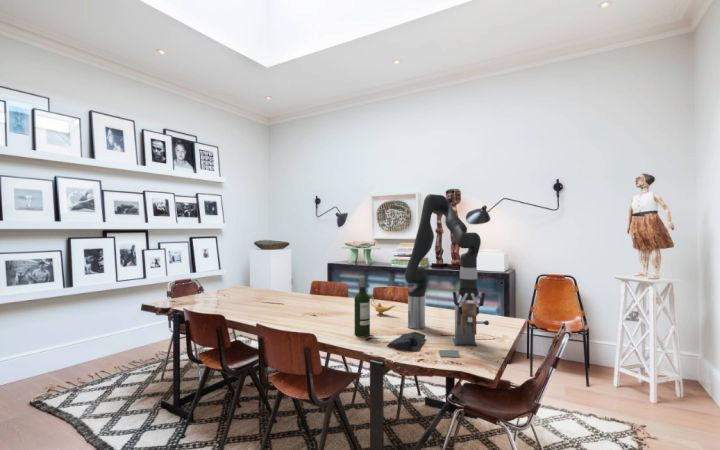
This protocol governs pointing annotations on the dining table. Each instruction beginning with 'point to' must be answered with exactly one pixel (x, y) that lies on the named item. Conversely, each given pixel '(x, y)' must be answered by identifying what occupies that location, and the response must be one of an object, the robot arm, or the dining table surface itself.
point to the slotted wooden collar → (468, 310)
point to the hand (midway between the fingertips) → (468, 314)
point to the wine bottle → (362, 311)
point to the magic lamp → (381, 308)
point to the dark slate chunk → (408, 342)
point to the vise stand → (466, 338)
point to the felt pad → (449, 353)
